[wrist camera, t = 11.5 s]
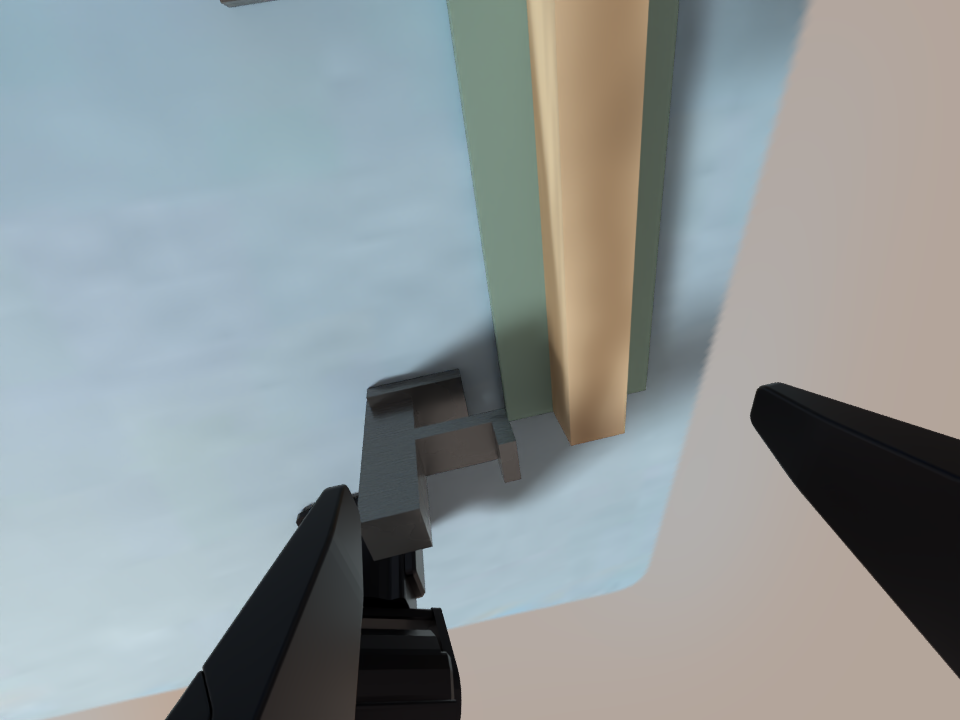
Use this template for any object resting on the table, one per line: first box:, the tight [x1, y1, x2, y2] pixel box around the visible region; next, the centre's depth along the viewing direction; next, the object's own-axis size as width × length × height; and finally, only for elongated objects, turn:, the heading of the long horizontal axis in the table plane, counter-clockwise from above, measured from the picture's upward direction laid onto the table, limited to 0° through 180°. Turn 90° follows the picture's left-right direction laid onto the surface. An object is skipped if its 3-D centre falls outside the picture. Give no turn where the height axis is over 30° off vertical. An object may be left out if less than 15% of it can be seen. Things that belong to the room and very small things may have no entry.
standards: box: [220, 0, 521, 561], centre depth 15 cm, size 7×24×8 cm, turn 9°
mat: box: [447, 0, 679, 422], centre depth 19 cm, size 8×25×1 cm, turn 9°
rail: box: [526, 0, 649, 446], centre depth 17 cm, size 3×24×3 cm, turn 8°
